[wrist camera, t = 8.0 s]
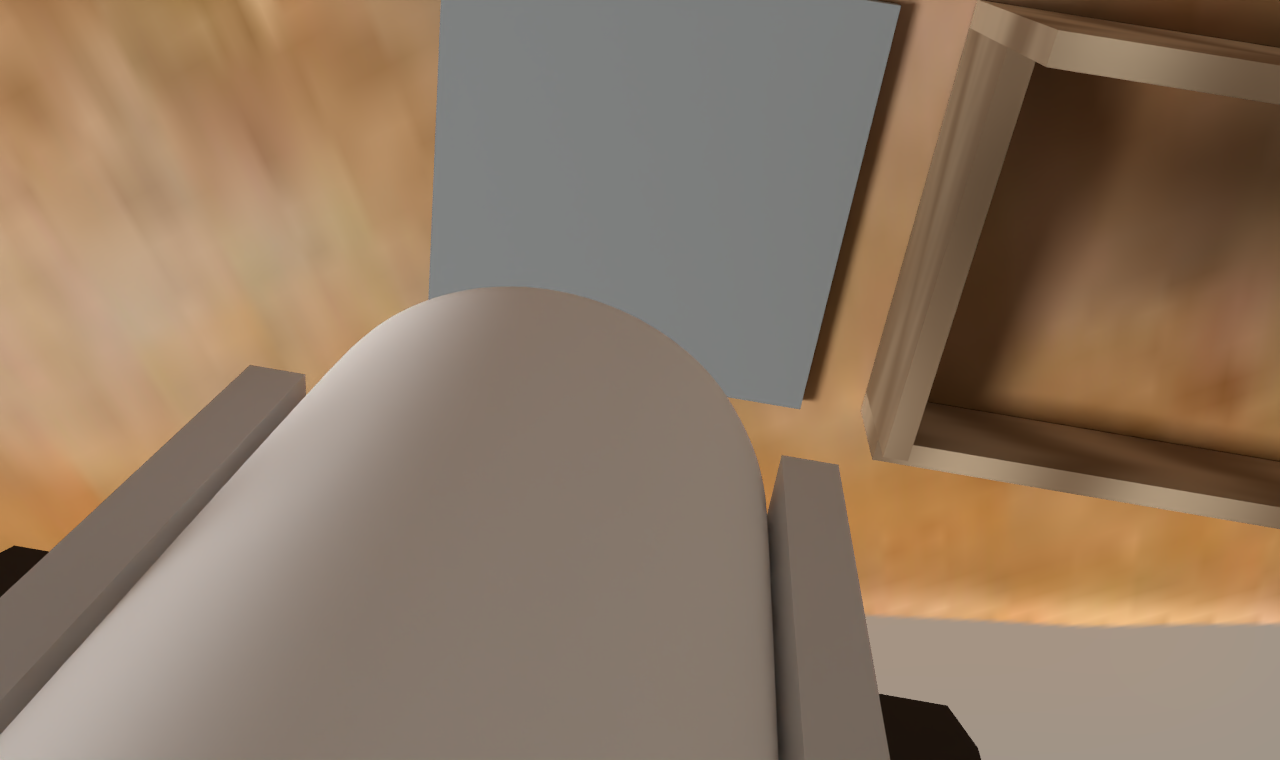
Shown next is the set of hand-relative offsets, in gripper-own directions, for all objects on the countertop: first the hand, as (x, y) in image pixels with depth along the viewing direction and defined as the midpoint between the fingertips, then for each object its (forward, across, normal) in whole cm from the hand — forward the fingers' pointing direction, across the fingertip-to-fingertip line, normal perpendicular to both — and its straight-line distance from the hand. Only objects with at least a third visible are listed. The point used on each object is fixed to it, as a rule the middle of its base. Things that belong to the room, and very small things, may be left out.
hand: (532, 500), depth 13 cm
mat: (+16, 0, 0) cm, 16 cm away
